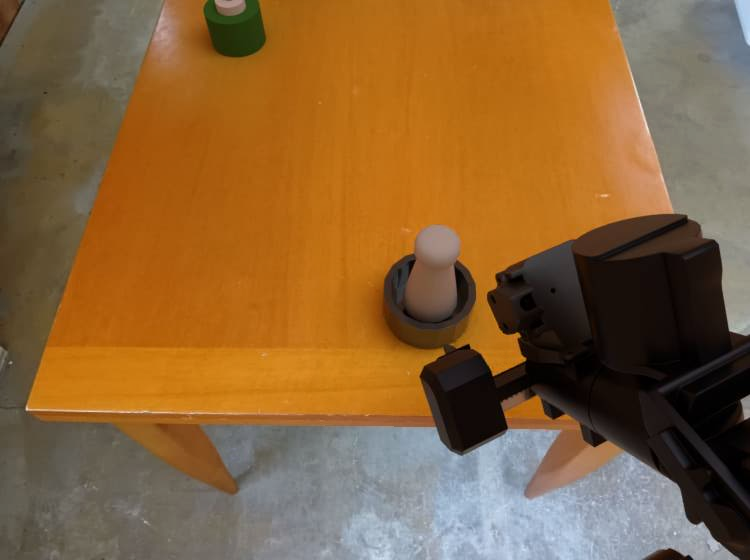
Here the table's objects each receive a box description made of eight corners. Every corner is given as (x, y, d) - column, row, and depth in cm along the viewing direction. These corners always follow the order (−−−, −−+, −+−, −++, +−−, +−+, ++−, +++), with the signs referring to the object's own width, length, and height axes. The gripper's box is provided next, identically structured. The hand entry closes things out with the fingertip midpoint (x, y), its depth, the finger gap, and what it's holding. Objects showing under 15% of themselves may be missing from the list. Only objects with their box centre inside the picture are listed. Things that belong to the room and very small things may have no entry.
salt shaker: (463, 322, 62) (481, 254, 51) (414, 339, 61) (422, 274, 49) (441, 279, 64) (453, 206, 53) (394, 295, 63) (397, 223, 52)
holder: (488, 313, 63) (495, 292, 59) (425, 366, 60) (428, 348, 56) (428, 259, 67) (431, 236, 63) (365, 306, 63) (364, 285, 60)
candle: (238, 64, 86) (223, 1, 77) (201, 42, 88) (182, -20, 80) (276, 37, 89) (266, -26, 81) (239, 17, 92) (225, -46, 83)
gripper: (733, 206, 33) (566, 197, 47) (448, 333, 28) (361, 281, 43) (759, 376, 35) (594, 318, 50) (504, 514, 31) (405, 407, 46)
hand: (494, 328), depth 47 cm, fingers open, 9 cm apart
